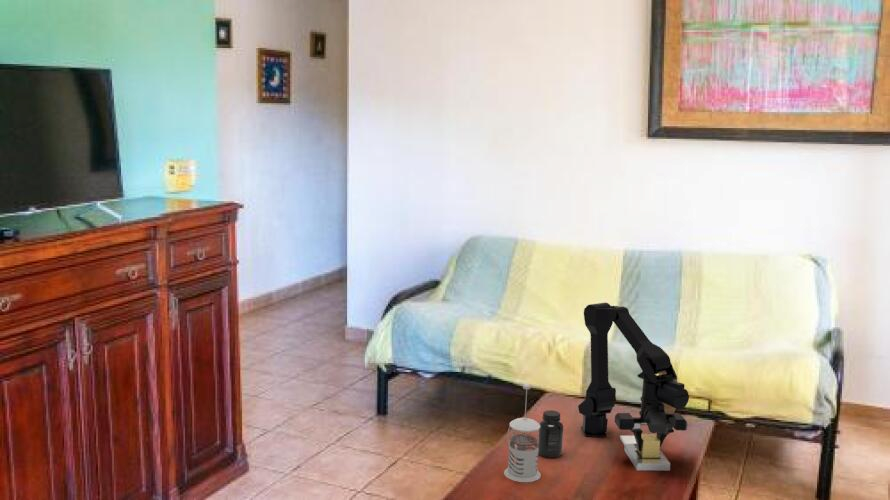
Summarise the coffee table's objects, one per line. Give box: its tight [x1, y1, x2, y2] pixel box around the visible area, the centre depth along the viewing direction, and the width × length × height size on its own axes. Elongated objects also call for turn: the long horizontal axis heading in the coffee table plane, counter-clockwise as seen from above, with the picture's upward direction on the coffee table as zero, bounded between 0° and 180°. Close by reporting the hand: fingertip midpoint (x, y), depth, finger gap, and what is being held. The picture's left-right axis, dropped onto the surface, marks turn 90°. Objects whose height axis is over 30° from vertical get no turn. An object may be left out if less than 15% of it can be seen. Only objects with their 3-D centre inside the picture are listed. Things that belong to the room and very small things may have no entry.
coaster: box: [619, 435, 637, 446], centre depth 242 cm, size 8×8×1 cm
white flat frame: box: [623, 444, 671, 472], centre depth 231 cm, size 9×13×2 cm
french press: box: [503, 383, 541, 483], centre depth 219 cm, size 10×12×25 cm
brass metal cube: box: [637, 433, 661, 459], centre depth 229 cm, size 5×5×7 cm
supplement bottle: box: [537, 409, 564, 459], centre depth 232 cm, size 7×7×12 cm
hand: (648, 450), depth 229 cm, fingers closed on brass metal cube, 5 cm apart
